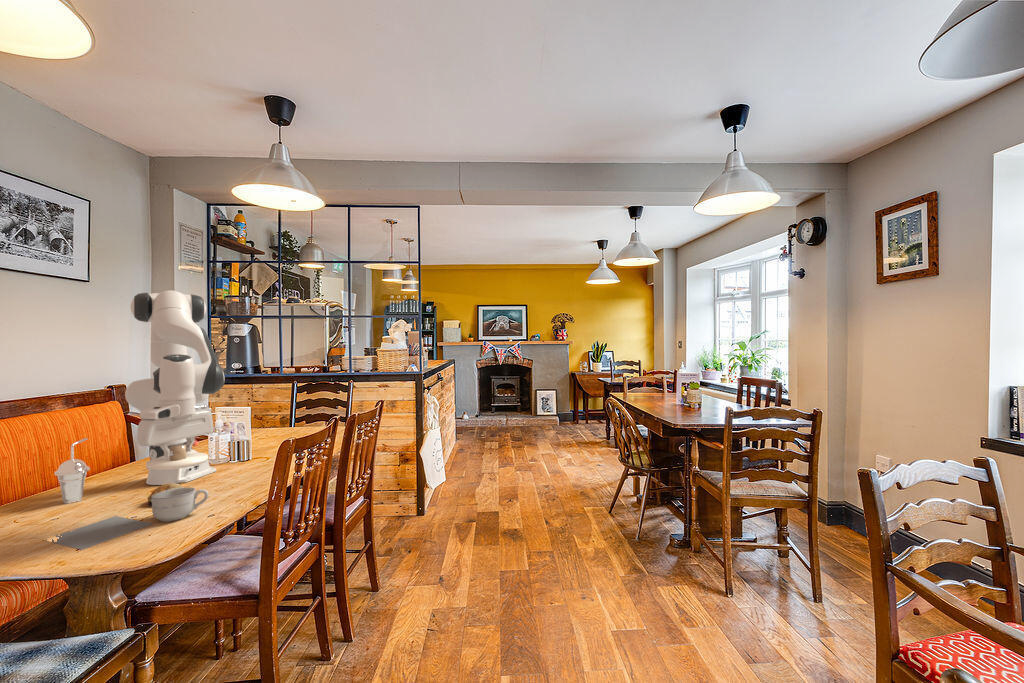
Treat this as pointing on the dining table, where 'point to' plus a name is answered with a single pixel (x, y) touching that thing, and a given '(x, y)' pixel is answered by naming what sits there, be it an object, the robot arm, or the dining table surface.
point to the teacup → (175, 503)
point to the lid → (177, 459)
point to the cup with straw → (72, 477)
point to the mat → (99, 532)
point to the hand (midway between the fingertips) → (178, 454)
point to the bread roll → (163, 488)
